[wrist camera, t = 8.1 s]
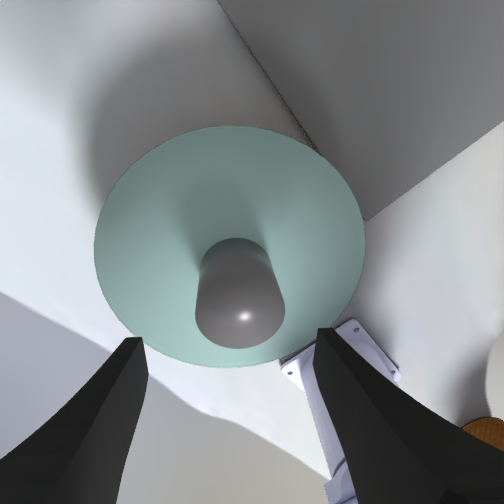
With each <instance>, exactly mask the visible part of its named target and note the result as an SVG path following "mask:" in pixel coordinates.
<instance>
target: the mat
mask: <svg viewBox="0 0 504 504" xmlns="http://www.w3.org/2000/svg"><path fill="white" fill-rule="evenodd" d="M217 1H218V3H219V4H220V6H221V7H222V9H223V10H224V12H225V13H226V15H227V16H228V18H229V19H230V21H231V22H232V24H233V25H234V27H235V28H236V30H237V31H238V33H239V34H240V36H241V37H242V39H243V40H244V42H245V43H246V45H247V46H248V48H249V49H250V51H251V52H252V54H253V55H254V57H255V58H256V60H257V61H258V63H259V64H260V65H261V67H262V68H263V70H264V71H265V73H266V74H267V76H268V77H269V79H270V80H271V82H272V83H273V85H274V86H275V88H276V89H277V91H278V92H279V94H280V95H281V97H282V98H283V100H284V101H285V103H286V104H287V106H288V107H289V109H290V110H291V112H292V113H293V115H294V116H295V118H296V119H297V121H298V122H299V124H300V125H301V127H302V128H303V130H304V131H305V133H306V134H307V136H308V137H309V139H310V140H311V142H312V143H313V145H314V146H315V148H316V149H317V151H318V152H319V154H320V155H321V156H322V157H324V158H325V159H326V160H327V161H328V162H329V163H330V164H331V165H332V166H333V167H334V168H335V169H336V170H337V171H338V172H339V174H340V175H341V176H342V178H343V179H344V180H345V182H346V183H347V184H348V186H349V187H350V189H351V191H352V193H353V195H354V197H355V199H356V201H357V203H358V206H359V209H360V212H361V215H362V218H363V219H364V220H365V221H368V220H369V219H370V218H372V217H373V216H374V215H376V214H377V213H379V212H380V211H381V210H383V209H384V208H385V207H387V206H388V205H389V204H391V203H392V202H394V201H395V200H396V199H398V198H399V197H400V196H402V195H403V194H404V193H406V192H407V191H409V190H410V189H411V188H413V187H414V186H415V185H417V184H418V183H419V182H421V181H422V180H424V179H425V178H426V177H428V176H429V175H430V174H432V173H433V172H434V171H436V170H437V169H439V168H440V167H441V166H443V165H444V164H445V163H447V162H448V161H449V160H451V159H452V158H454V157H455V156H456V155H458V154H459V153H460V152H462V151H463V150H464V149H466V148H467V147H469V146H470V145H471V144H473V143H474V142H475V141H477V140H478V139H479V138H481V137H482V136H484V135H485V134H486V133H488V132H489V131H490V130H492V129H493V128H494V127H496V126H497V125H499V124H500V123H501V122H503V121H504V0H217Z"/></svg>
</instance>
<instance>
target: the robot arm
mask: <svg viewBox="0 0 504 504" xmlns="http://www.w3.org/2000/svg"><path fill="white" fill-rule="evenodd" d="M355 328H356V329H355ZM289 371H290V372H289ZM281 372H282V373H283V374H284V375H285V376H286V377H288V378H289V379H290V380H291V381H292V382H293V383H295V384H296V385H297V386H298V387H299V388H300V389H301V390H303V391H304V392H305V393H306V396H307V400H308V403H309V406H310V409H311V413H312V416H313V419H314V422H315V426H316V429H317V432H318V435H319V439H320V442H321V445H322V448H323V452H324V455H325V458H326V461H327V465H328V468H329V471H330V474H331V478H332V479H331V480H330V481H329V482H327V483H325V485H324V487H325V490H326V493H327V497H328V501H329V504H504V451H502V450H500V449H498V448H496V447H494V446H492V445H490V444H488V443H486V442H484V441H482V440H480V439H478V438H477V437H475V436H473V435H471V434H469V433H468V432H466V431H464V430H462V429H460V428H459V427H457V426H455V425H454V424H452V423H450V422H449V421H447V420H445V419H444V418H442V417H441V416H439V415H437V414H436V413H434V412H433V411H431V410H430V409H428V408H427V407H425V406H424V405H422V404H421V403H419V402H418V401H416V400H415V399H414V398H412V397H411V396H409V395H408V394H407V393H405V392H404V391H403V390H401V389H400V388H399V386H398V385H397V383H396V382H397V381H399V380H401V378H402V374H401V373H400V372H399V370H398V369H397V368H396V367H395V366H394V364H393V363H392V362H391V361H390V360H389V358H388V357H387V356H386V355H385V354H384V352H383V351H382V350H381V349H380V348H379V347H378V345H377V344H376V343H375V342H374V341H373V339H372V338H371V337H370V336H369V335H368V333H367V332H366V331H365V330H364V329H363V328H362V326H361V325H360V324H359V323H358V322H357V321H356V320H355V319H352V320H349V321H347V322H346V323H344V324H343V325H341V326H340V327H338V328H337V329H335V330H334V329H333V328H318V330H317V337H316V343H314V344H313V345H311V346H310V347H308V348H307V349H305V350H304V351H302V352H301V353H299V354H298V355H296V356H295V357H293V358H292V359H290V360H289V361H287V362H286V363H284V364H283V365H282V366H281ZM148 375H149V373H148V367H147V362H146V356H145V350H144V344H143V339H142V337H128V338H125V339H124V340H123V342H122V343H121V344H120V345H119V346H118V348H117V349H116V350H115V351H114V352H113V353H112V355H111V356H110V357H109V358H108V359H107V360H106V362H105V363H104V364H103V365H102V366H101V367H100V368H99V370H98V371H97V372H96V373H95V374H94V375H93V376H92V377H91V378H90V380H89V381H88V382H87V383H86V384H85V385H84V386H83V387H82V388H81V389H80V390H79V391H78V392H77V393H76V394H75V395H74V396H73V398H71V399H70V400H69V401H68V402H67V403H66V404H65V405H64V406H63V407H62V408H61V409H60V410H59V411H58V412H57V413H56V414H55V415H54V416H52V417H51V418H50V419H49V420H48V421H47V422H46V423H45V424H44V425H42V426H41V427H40V428H39V429H38V430H37V431H35V432H34V433H33V434H32V435H31V436H29V437H28V438H27V439H26V440H24V441H23V442H22V443H21V444H19V445H18V446H17V447H16V448H14V449H13V450H12V451H11V452H9V453H8V454H7V455H6V456H4V457H3V458H2V459H0V504H116V501H117V496H118V491H119V487H120V482H121V477H122V473H123V469H124V465H125V462H126V458H127V455H128V452H129V448H130V445H131V442H132V439H133V435H134V432H135V428H136V425H137V422H138V419H139V415H140V412H141V409H142V405H143V402H144V397H145V392H146V387H147V381H148Z"/></svg>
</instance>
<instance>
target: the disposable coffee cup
mask: <svg viewBox="0 0 504 504" xmlns="http://www.w3.org/2000/svg"><path fill="white" fill-rule="evenodd" d="M462 430H464V431H466V432H468V433H469V434H471V435H473V436H475V437H477V438H478V439H480V440H482V441H484V442H486V443H488V444H490V445H492V446H494V447H496V448H498V449H500V450H502V451H504V422H503V420H501V419H499V418H495V417H489V418H483V419H479V420H476V421H474V422H471V423H469V424H468V425H466V426H464V427H463V428H462Z"/></svg>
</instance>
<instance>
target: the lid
mask: <svg viewBox="0 0 504 504" xmlns="http://www.w3.org/2000/svg"><path fill="white" fill-rule="evenodd" d="M365 248H366V245H365V230H364V224H363V219H362V215H361V212H360V209H359V206H358V203H357V201H356V199H355V197H354V195H353V193H352V191H351V189H350V187H349V186H348V184H347V183H346V182H345V180H344V179H343V178H342V176H341V175H340V174H339V172H338V171H337V170H336V169H335V168H334V167H333V166H332V165H331V164H330V163H329V162H328V161H327V160H326V159H325V158H324V157H322V156H321V155H319V154H318V153H317V152H315V151H314V150H313V149H311V148H310V147H308V146H306V145H304V144H302V143H300V142H299V141H297V140H295V139H293V138H291V137H288V136H285V135H282V134H279V133H277V132H274V131H271V130H266V129H261V128H256V127H251V126H235V125H227V126H216V127H207V128H203V129H199V130H194V131H190V132H187V133H184V134H182V135H179V136H177V137H174V138H172V139H169V140H167V141H166V142H164V143H162V144H161V145H159V146H157V147H155V148H154V149H152V150H150V151H149V152H147V153H146V154H145V155H144V156H142V157H141V158H140V159H139V160H137V161H136V162H135V163H134V164H132V165H131V166H130V168H129V169H128V170H127V171H126V172H125V173H124V174H123V175H122V176H121V177H120V178H119V180H118V181H117V183H116V184H115V186H114V187H113V189H112V190H111V192H110V193H109V195H108V197H107V199H106V201H105V203H104V205H103V208H102V210H101V212H100V215H99V219H98V223H97V226H96V231H95V240H94V263H95V268H96V273H97V278H98V281H99V284H100V287H101V290H102V292H103V295H104V297H105V298H106V300H107V302H108V304H109V306H110V308H111V309H112V311H113V312H114V313H115V315H116V316H117V318H118V319H119V320H120V321H121V322H122V324H123V325H124V326H125V327H126V328H127V329H128V330H129V331H130V332H131V333H132V334H134V335H135V336H136V337H142V339H143V342H144V343H145V344H147V345H148V346H150V347H151V348H153V349H154V350H156V351H158V352H160V353H162V354H164V355H166V356H169V357H171V358H174V359H177V360H179V361H182V362H186V363H190V364H194V365H199V366H205V367H214V368H240V367H248V366H255V365H259V364H263V363H267V362H271V361H274V360H277V359H280V358H282V357H285V356H287V355H289V354H291V353H293V352H296V351H297V350H299V349H301V348H303V347H304V346H306V345H308V344H309V343H311V342H312V341H313V340H315V339H316V337H317V330H318V328H329V327H330V326H331V325H332V324H333V323H334V322H335V320H336V319H337V318H338V317H339V316H340V315H341V313H342V312H343V310H344V309H345V308H346V306H347V305H348V303H349V301H350V300H351V298H352V296H353V294H354V292H355V290H356V288H357V285H358V282H359V280H360V277H361V273H362V269H363V265H364V258H365Z"/></svg>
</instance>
